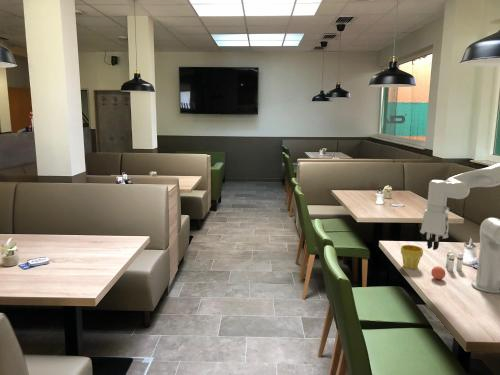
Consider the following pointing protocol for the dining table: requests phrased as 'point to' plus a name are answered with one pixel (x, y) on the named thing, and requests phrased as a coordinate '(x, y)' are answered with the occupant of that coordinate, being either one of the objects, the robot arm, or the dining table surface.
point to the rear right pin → (459, 262)
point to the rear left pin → (448, 257)
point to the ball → (438, 272)
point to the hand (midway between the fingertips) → (432, 248)
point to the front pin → (451, 262)
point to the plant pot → (411, 256)
